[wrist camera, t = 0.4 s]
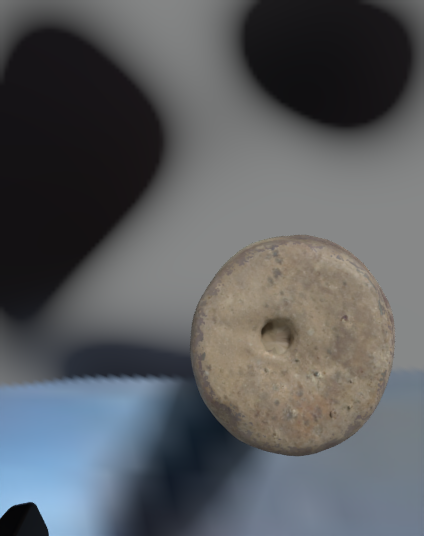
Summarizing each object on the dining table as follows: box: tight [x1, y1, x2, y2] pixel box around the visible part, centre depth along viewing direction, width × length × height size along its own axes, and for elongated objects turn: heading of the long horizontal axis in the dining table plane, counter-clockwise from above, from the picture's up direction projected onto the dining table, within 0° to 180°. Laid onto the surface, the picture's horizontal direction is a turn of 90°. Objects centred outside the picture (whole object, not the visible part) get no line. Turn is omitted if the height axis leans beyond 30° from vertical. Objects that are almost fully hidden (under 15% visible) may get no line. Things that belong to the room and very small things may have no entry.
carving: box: [190, 235, 395, 456], centre depth 17 cm, size 6×8×12 cm
